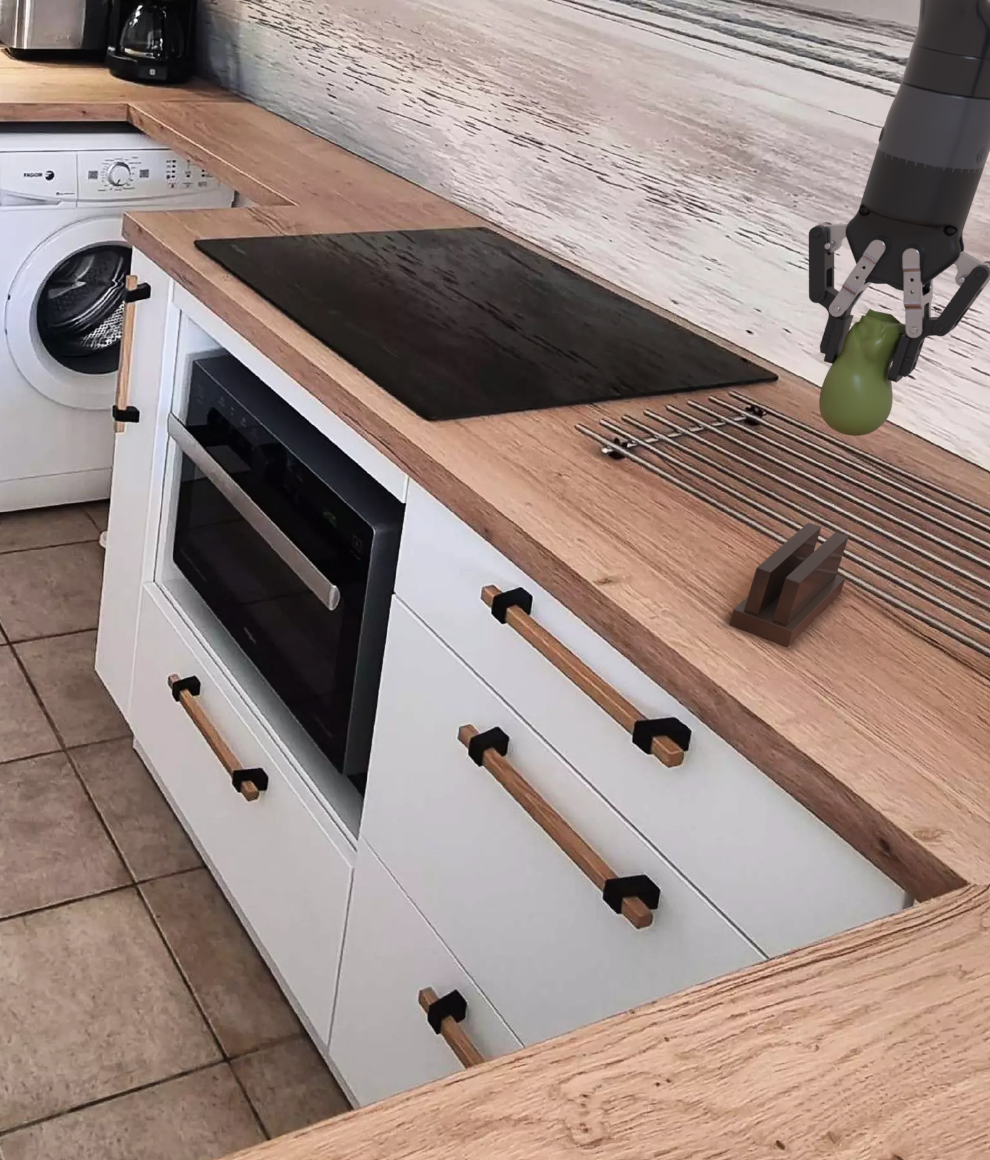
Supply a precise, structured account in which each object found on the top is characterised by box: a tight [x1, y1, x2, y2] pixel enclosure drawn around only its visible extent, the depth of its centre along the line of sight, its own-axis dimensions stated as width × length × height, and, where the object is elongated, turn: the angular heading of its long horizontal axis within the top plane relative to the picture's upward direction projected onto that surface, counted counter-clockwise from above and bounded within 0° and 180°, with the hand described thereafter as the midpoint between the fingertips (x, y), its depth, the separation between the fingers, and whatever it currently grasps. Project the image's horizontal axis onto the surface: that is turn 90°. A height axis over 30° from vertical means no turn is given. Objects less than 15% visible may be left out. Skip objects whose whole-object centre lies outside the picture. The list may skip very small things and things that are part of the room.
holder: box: [728, 522, 849, 648], centre depth 129 cm, size 5×14×6 cm, turn 143°
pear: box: [818, 308, 906, 437], centre depth 120 cm, size 6×5×10 cm
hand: (862, 368), depth 120 cm, fingers closed on pear, 4 cm apart
